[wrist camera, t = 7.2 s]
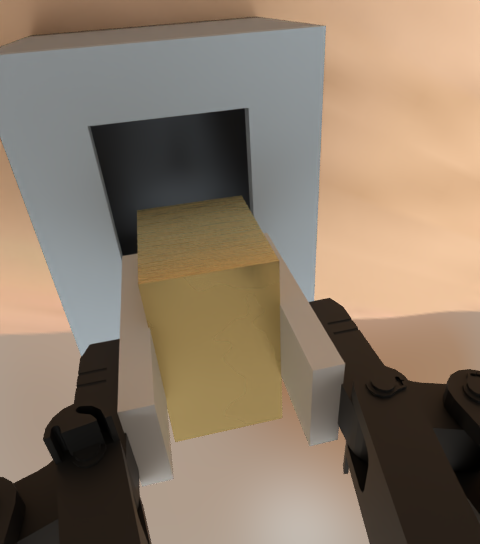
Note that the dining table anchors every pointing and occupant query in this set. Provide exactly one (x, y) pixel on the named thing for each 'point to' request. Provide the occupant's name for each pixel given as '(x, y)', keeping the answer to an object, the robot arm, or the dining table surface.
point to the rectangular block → (212, 314)
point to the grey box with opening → (161, 142)
